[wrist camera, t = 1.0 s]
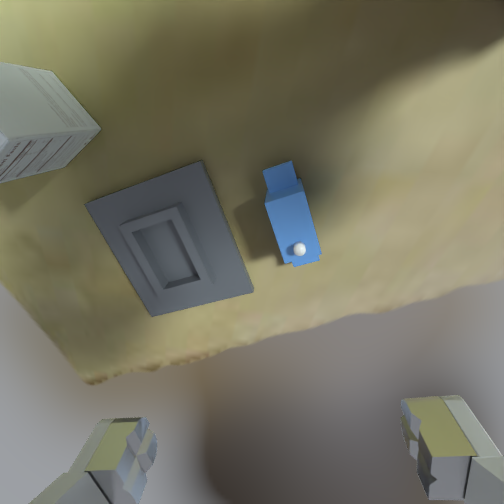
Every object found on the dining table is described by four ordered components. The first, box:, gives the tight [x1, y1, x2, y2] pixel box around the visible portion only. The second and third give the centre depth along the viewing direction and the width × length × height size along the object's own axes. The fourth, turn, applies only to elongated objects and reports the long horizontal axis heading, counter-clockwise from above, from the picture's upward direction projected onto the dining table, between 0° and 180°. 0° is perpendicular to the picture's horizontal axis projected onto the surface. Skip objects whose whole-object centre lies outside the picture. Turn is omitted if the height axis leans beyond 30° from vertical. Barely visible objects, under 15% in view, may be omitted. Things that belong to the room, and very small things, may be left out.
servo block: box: [262, 160, 322, 267], centre depth 31 cm, size 4×12×7 cm, turn 20°
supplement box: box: [0, 62, 101, 183], centre depth 27 cm, size 7×7×13 cm
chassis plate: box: [84, 160, 254, 317], centre depth 36 cm, size 16×18×3 cm
